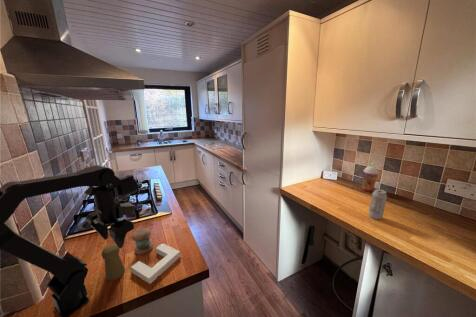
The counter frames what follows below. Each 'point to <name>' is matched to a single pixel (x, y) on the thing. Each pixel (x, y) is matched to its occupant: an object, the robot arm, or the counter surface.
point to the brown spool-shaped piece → (142, 241)
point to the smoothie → (369, 178)
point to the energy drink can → (377, 204)
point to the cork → (112, 262)
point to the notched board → (152, 273)
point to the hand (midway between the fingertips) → (113, 243)
